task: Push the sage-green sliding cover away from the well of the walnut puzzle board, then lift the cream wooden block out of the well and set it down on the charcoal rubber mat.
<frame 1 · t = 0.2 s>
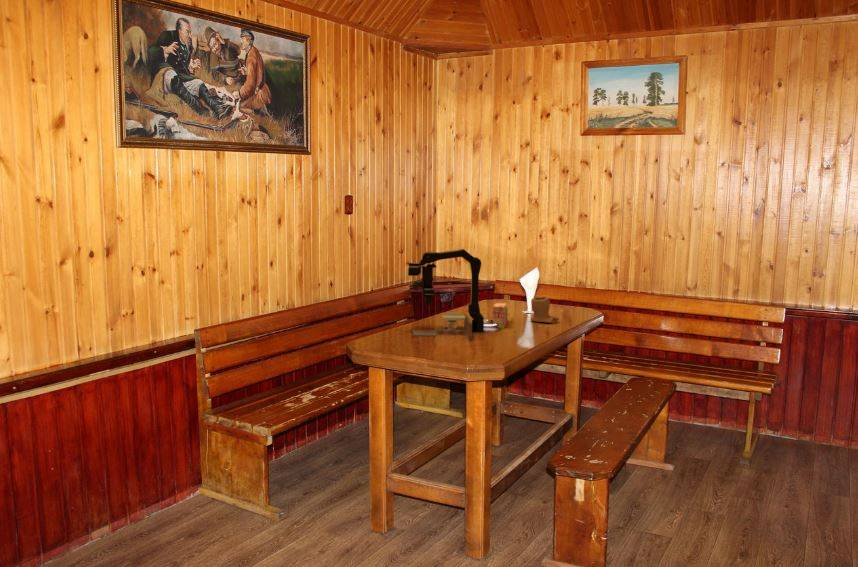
hand: (427, 305, 390), 14 cm above the table, tool pointing down, fingers open, 9 cm apart
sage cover: (453, 316, 387), point 9 cm above the table, slide at 0.0 cm
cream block: (451, 332, 388), resting on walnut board
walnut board: (451, 333, 388), on the table
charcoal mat: (424, 334, 383), on the table
brown boot: (543, 322, 423), on the table
stack of blocks: (499, 325, 413), on the table
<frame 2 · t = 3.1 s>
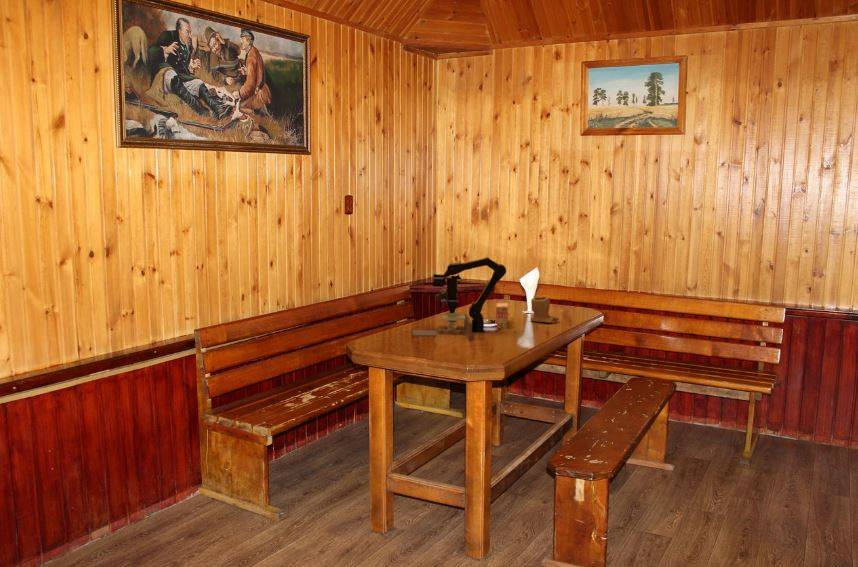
hand: (451, 316, 392), 8 cm above the table, tool pointing down, fingers closed
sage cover: (453, 316, 387), point 9 cm above the table, slide at 0.2 cm, touching gripper
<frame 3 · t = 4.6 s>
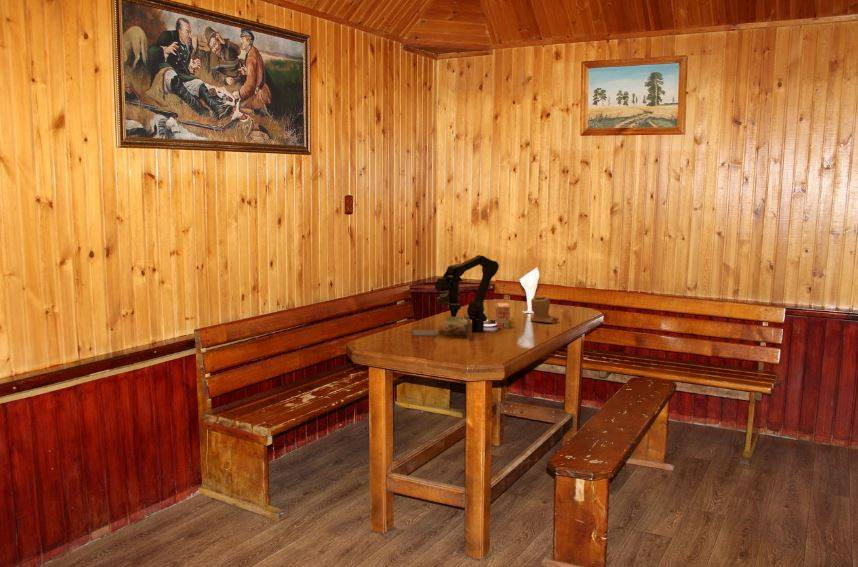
hand: (452, 320, 381), 8 cm above the table, tool pointing down, fingers closed
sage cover: (455, 320, 376), point 9 cm above the table, slide at 10.8 cm, touching gripper
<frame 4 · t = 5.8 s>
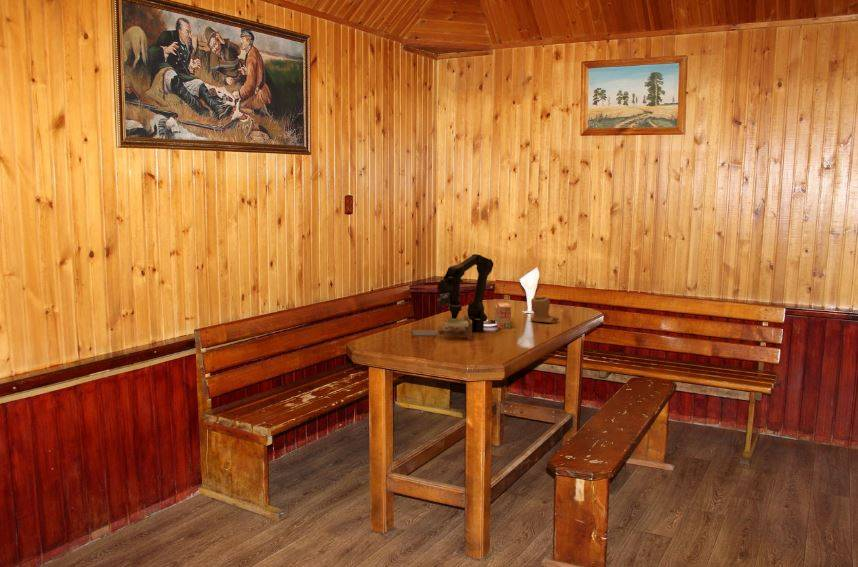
hand: (453, 321, 377), 8 cm above the table, tool pointing down, fingers closed
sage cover: (456, 322, 372), point 9 cm above the table, slide at 15.4 cm, touching gripper
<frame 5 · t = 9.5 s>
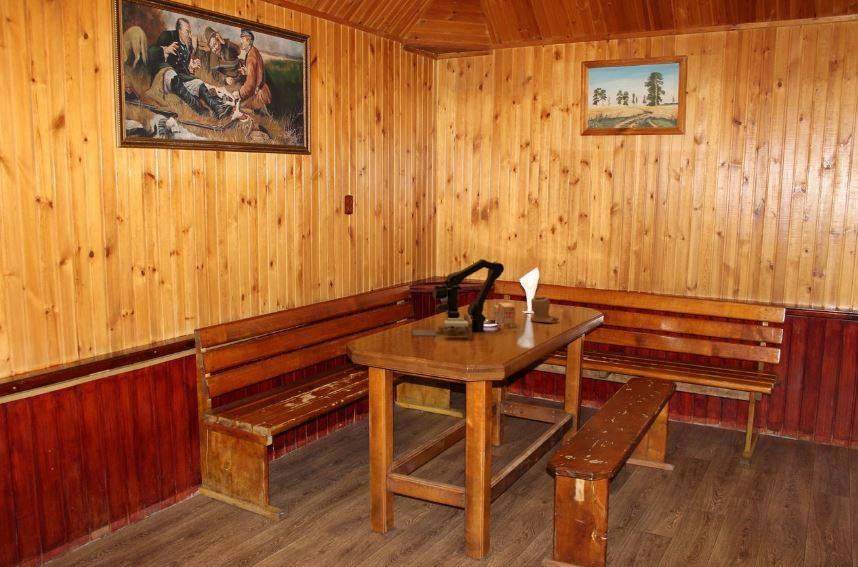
hand: (451, 327, 388), 3 cm above the table, tool pointing down, fingers closed on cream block, 4 cm apart
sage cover: (456, 322, 372), point 9 cm above the table, slide at 15.5 cm
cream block: (451, 332, 388), resting on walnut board, touching gripper
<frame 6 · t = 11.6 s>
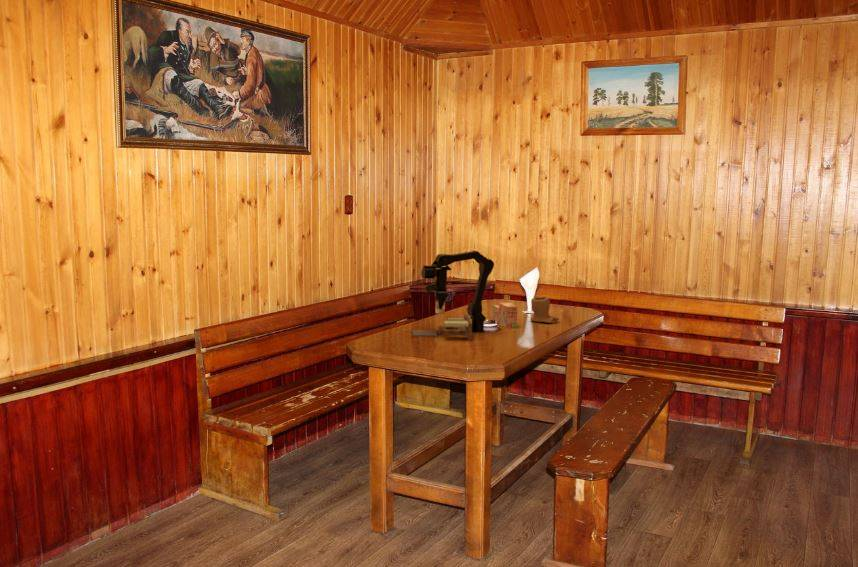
hand: (440, 308, 384), 14 cm above the table, tool pointing down, fingers closed on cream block, 4 cm apart
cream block: (439, 313, 384), point 11 cm above the table, touching gripper
when the fingers open (5 cm above the table, at t = 13.9 s): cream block drops 2 cm, resting on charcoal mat.
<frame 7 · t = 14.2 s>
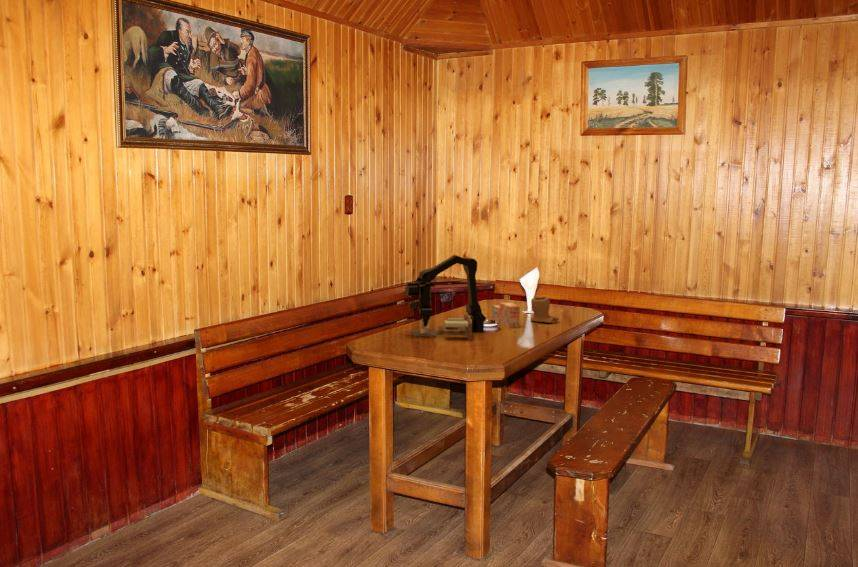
hand: (424, 325, 382), 5 cm above the table, tool pointing down, fingers open, 7 cm apart
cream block: (424, 332, 382), point 1 cm above the table, touching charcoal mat
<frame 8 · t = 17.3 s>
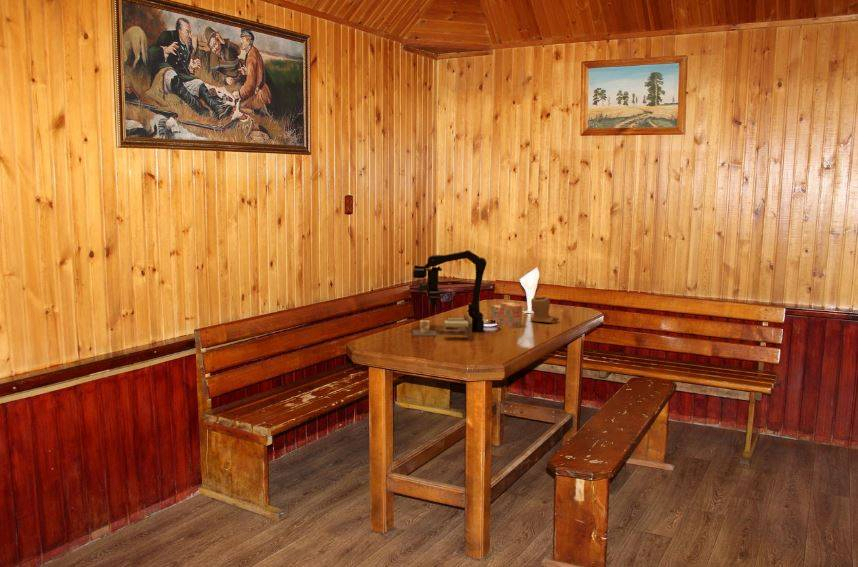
hand: (432, 307, 394), 12 cm above the table, tool pointing down, fingers open, 9 cm apart
at the end: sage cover slide at 15.5 cm; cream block inside the target area on the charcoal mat (0.1 cm from its centre), point 1.2 cm above the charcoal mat's base; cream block tilted 0° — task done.
